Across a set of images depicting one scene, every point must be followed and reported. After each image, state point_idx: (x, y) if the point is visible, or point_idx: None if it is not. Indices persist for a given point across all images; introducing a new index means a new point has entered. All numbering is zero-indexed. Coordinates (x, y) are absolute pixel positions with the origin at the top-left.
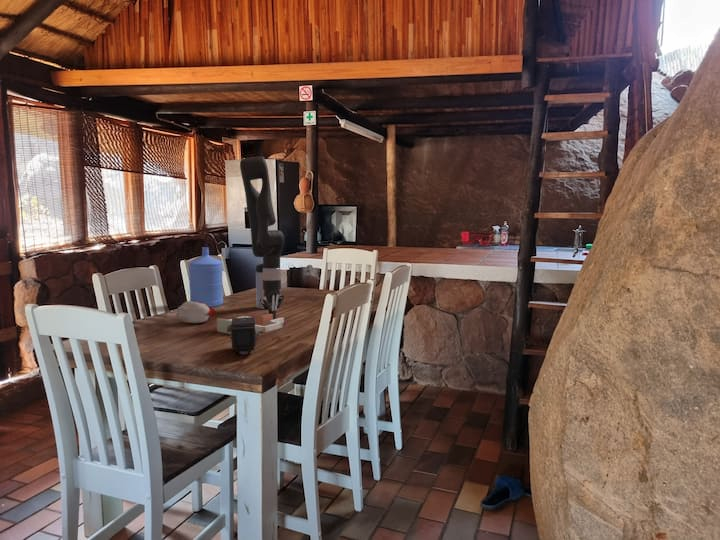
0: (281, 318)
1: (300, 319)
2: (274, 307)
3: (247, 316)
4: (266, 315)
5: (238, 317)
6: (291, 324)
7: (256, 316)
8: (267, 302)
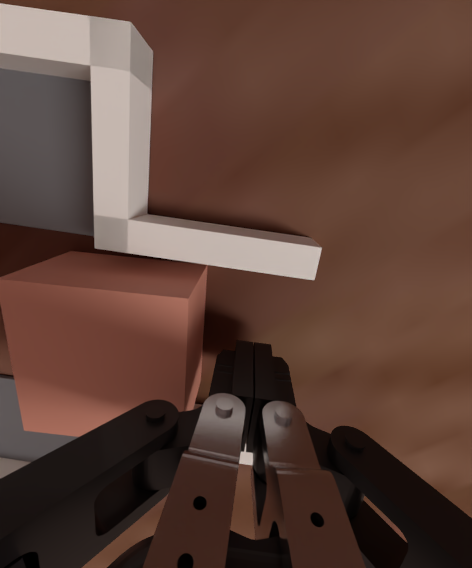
0: (240, 462)
1: (427, 477)
2: (253, 494)
3: (126, 92)
4: (87, 430)
5: (4, 12)
6: (243, 493)
7: (16, 343)
8: (173, 512)
